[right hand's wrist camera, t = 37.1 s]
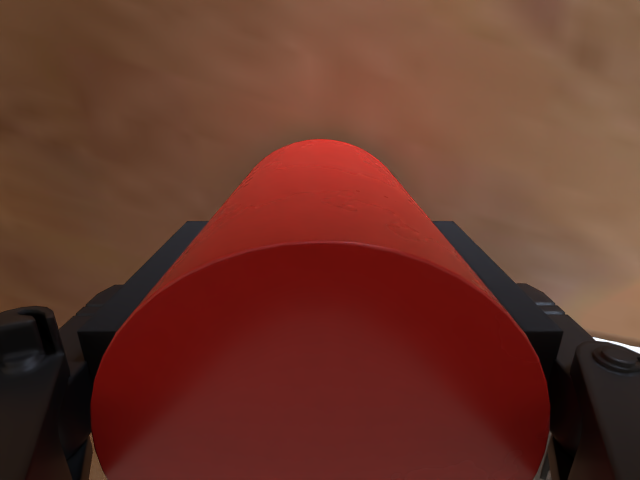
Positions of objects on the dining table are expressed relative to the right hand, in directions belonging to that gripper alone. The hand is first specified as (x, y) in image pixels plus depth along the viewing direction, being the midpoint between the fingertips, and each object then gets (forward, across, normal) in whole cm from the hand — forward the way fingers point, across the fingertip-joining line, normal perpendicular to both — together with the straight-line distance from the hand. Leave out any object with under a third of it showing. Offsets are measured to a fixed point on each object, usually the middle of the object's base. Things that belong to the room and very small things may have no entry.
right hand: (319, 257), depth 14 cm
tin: (+3, 0, 0) cm, 3 cm away
